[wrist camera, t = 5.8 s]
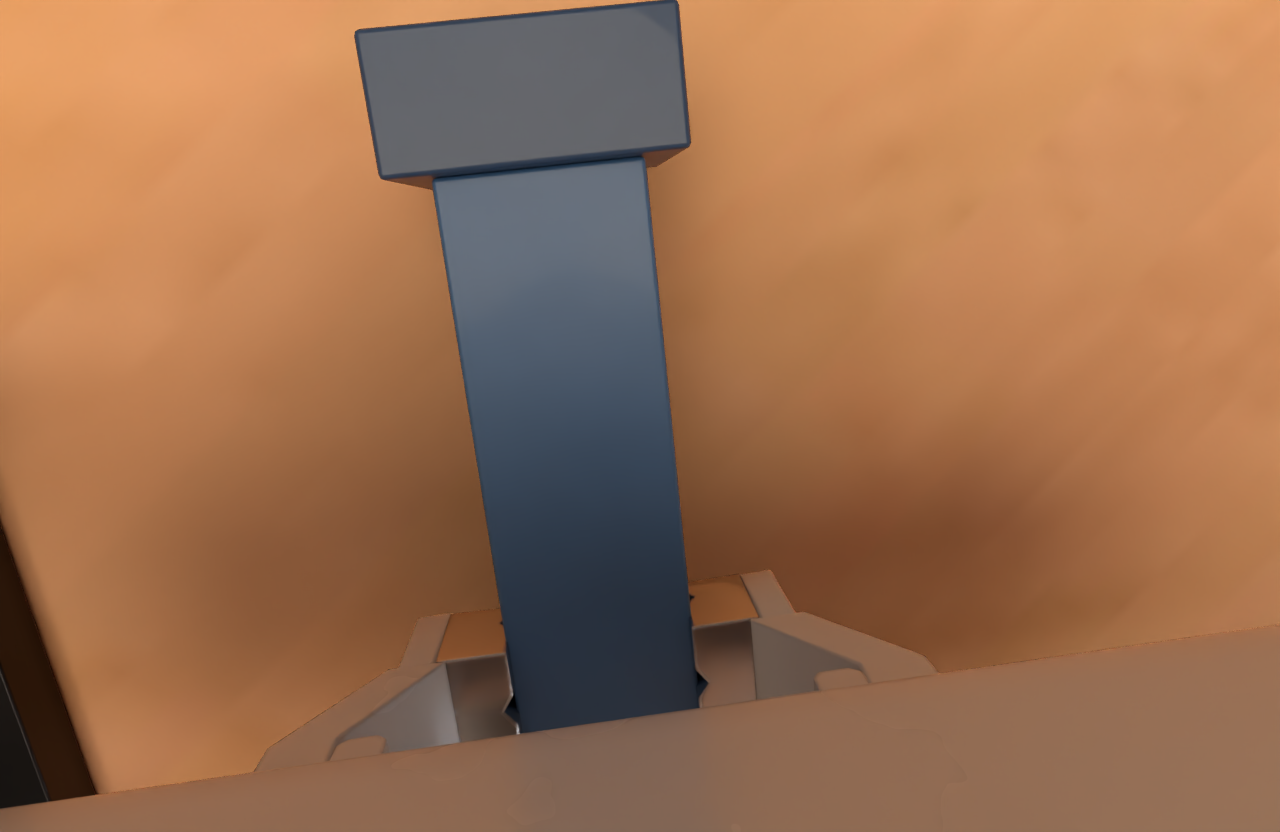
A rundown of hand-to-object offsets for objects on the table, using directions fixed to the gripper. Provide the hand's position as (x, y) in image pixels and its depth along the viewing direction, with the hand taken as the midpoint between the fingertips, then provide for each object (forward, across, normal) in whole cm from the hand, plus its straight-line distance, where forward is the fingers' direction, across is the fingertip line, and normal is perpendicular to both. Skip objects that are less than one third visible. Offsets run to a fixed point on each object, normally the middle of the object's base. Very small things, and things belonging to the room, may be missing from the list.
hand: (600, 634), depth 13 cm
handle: (+2, 0, 0) cm, 2 cm away
